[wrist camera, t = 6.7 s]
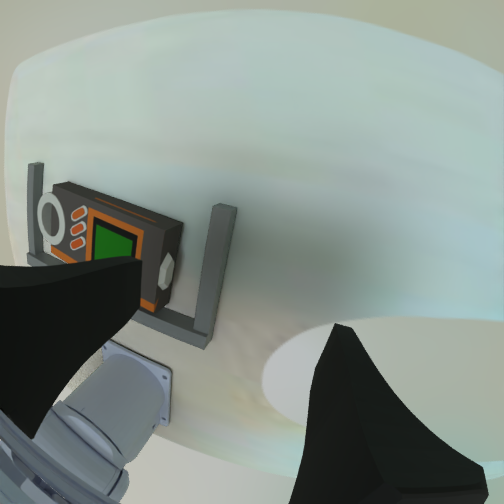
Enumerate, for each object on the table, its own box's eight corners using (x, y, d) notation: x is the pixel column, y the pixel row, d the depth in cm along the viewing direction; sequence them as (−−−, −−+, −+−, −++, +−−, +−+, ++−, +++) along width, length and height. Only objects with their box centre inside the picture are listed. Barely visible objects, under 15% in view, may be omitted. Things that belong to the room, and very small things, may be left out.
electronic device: (36, 179, 20) (166, 233, 17) (60, 175, 23) (189, 223, 20) (35, 248, 23) (154, 321, 20) (57, 240, 25) (174, 304, 22)
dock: (211, 338, 22) (203, 351, 21) (38, 258, 26) (26, 264, 24) (237, 207, 19) (227, 212, 17) (37, 162, 22) (23, 164, 21)
